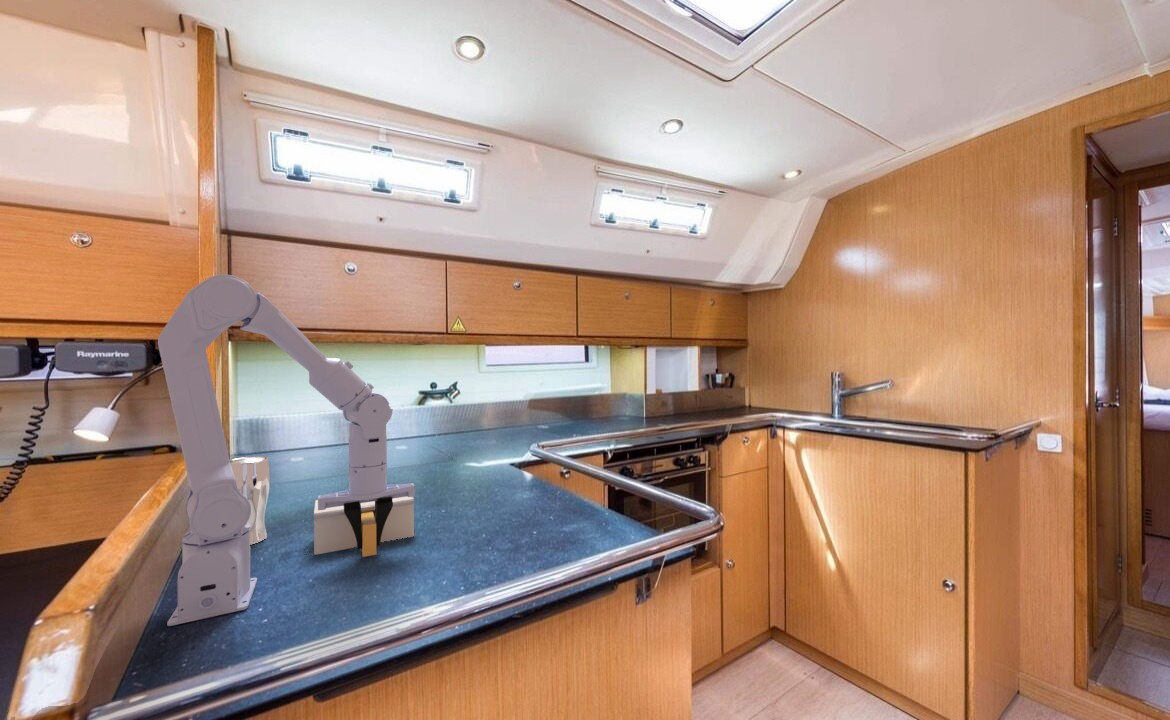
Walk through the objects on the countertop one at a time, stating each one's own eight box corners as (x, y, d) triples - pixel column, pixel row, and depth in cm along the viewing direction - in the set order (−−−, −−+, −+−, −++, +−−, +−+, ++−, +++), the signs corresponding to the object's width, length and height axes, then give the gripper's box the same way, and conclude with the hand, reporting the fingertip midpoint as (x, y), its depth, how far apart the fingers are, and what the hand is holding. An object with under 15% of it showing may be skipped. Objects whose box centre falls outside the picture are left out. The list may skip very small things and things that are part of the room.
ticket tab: (376, 554, 74) (376, 523, 74) (362, 556, 73) (362, 525, 73) (370, 528, 86) (369, 501, 86) (358, 530, 85) (358, 503, 85)
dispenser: (414, 537, 83) (414, 499, 84) (313, 556, 76) (313, 514, 76) (407, 522, 92) (406, 487, 92) (315, 537, 84) (315, 500, 84)
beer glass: (214, 545, 81) (214, 461, 81) (257, 532, 87) (257, 454, 87) (234, 552, 78) (234, 465, 78) (277, 538, 84) (277, 457, 84)
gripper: (410, 455, 83) (410, 529, 82) (318, 464, 75) (318, 546, 75) (416, 462, 76) (417, 542, 76) (317, 473, 69) (317, 561, 69)
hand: (368, 545), depth 75 cm, fingers closed on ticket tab, 2 cm apart
